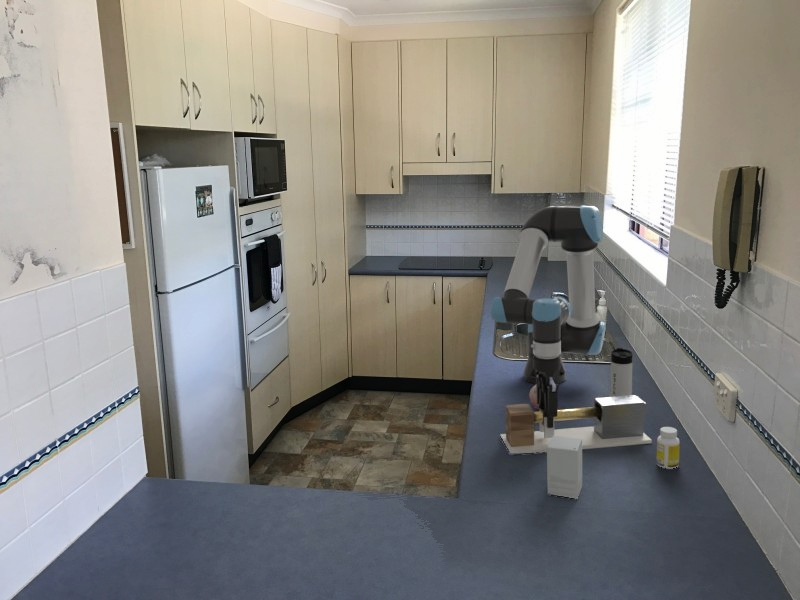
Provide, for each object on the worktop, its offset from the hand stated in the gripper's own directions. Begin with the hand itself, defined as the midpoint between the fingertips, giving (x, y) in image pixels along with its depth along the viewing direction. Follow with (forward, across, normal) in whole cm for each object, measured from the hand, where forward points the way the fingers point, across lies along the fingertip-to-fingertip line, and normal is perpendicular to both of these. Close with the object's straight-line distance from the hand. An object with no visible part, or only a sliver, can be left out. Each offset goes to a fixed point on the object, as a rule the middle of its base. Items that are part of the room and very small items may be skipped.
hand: (546, 434), depth 185 cm
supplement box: (+3, +27, -4) cm, 27 cm away
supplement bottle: (+3, +19, +26) cm, 32 cm away
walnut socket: (+3, 0, -8) cm, 8 cm away
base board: (+3, 0, +8) cm, 8 cm away
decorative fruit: (+3, -23, +6) cm, 24 cm away
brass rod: (-3, 0, +4) cm, 5 cm away
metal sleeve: (+2, 0, +21) cm, 21 cm away
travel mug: (+3, -17, +29) cm, 34 cm away
